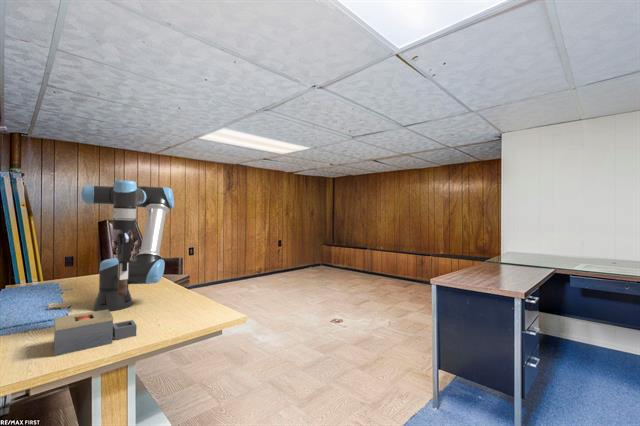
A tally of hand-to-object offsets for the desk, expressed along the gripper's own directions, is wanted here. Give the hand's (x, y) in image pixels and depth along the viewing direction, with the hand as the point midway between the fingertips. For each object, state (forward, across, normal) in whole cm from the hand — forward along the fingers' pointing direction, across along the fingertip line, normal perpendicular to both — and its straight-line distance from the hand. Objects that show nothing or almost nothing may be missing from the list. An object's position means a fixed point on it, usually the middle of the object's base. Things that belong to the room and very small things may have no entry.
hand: (122, 278), depth 119 cm
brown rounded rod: (+7, 0, 0) cm, 7 cm away
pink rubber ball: (+13, +10, -13) cm, 21 cm away
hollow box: (+19, +10, -13) cm, 25 cm away
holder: (+19, +10, -1) cm, 22 cm away
